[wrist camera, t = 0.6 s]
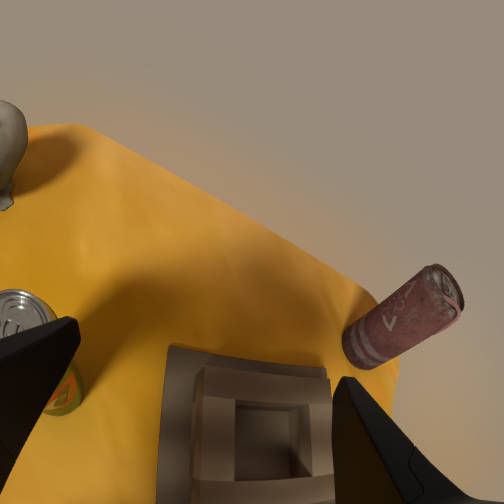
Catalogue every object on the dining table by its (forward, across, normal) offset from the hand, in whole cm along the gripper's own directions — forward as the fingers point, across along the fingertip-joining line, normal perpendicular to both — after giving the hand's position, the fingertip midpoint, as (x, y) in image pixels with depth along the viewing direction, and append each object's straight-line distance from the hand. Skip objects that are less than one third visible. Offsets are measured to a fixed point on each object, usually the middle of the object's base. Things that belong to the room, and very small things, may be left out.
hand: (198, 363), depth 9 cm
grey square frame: (+8, -3, +16) cm, 19 cm away
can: (+22, -15, +14) cm, 30 cm away
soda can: (+5, +13, +12) cm, 18 cm away
